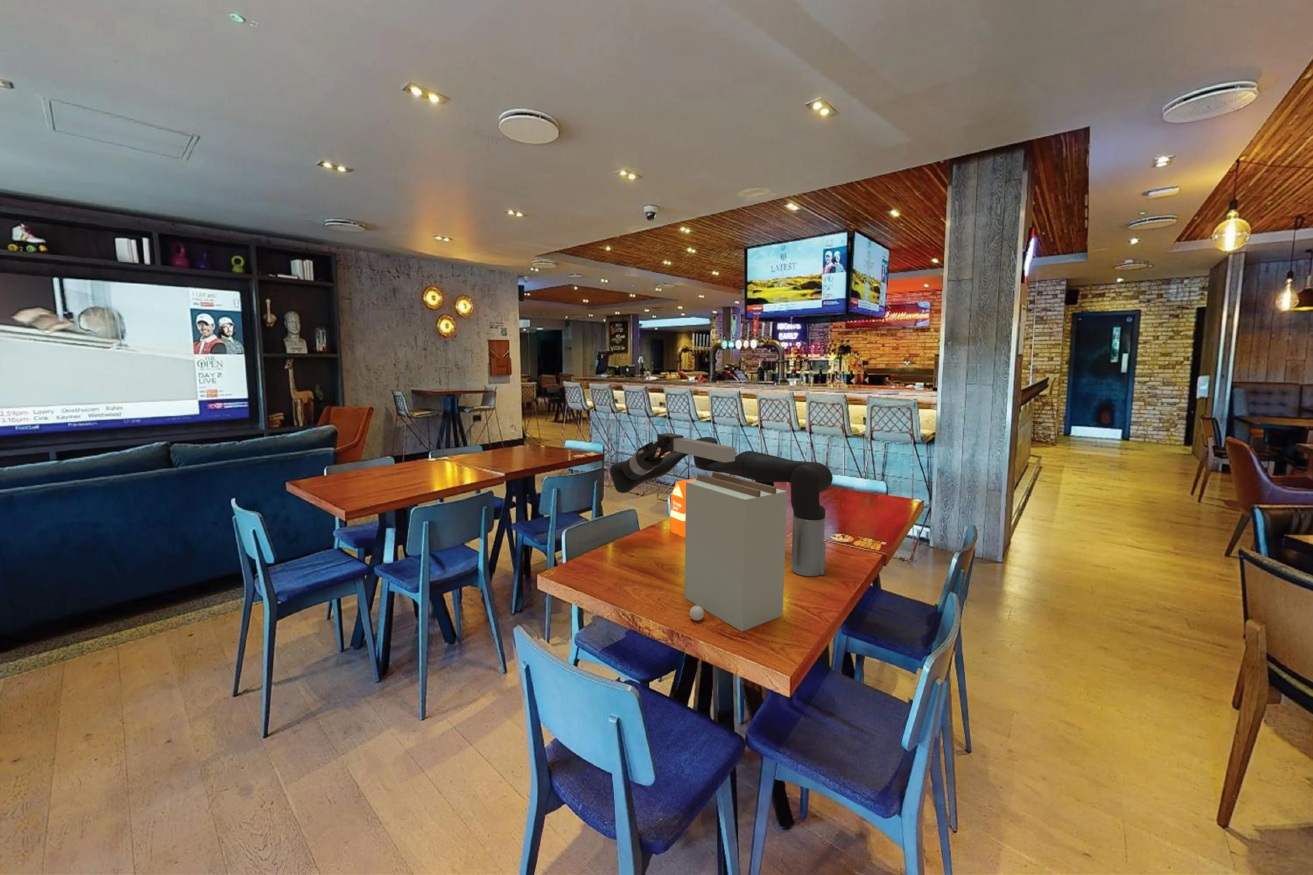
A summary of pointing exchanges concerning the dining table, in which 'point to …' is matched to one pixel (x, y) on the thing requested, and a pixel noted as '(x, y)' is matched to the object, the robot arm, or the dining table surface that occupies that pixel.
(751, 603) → the stand
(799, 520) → the robot arm
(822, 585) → the dining table surface
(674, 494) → the orange juice
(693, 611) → the white ball
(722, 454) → the rod
